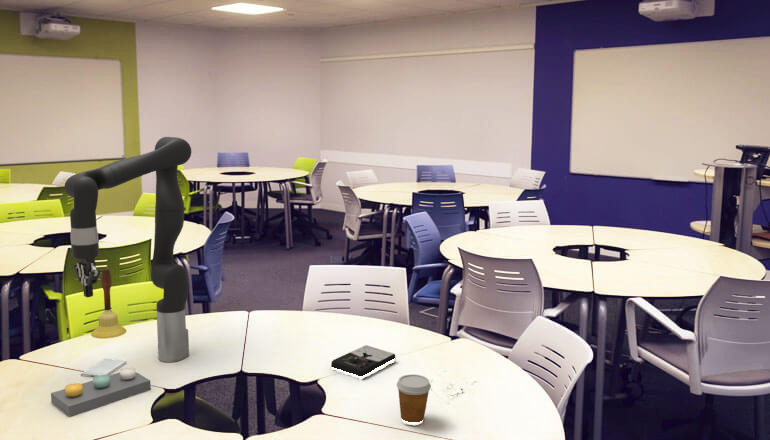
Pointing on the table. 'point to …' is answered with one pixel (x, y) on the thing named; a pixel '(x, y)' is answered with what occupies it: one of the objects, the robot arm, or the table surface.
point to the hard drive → (104, 368)
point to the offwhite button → (127, 373)
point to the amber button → (73, 389)
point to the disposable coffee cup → (413, 397)
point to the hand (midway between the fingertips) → (88, 296)
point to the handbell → (107, 313)
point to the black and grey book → (362, 360)
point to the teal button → (101, 381)
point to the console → (100, 394)
